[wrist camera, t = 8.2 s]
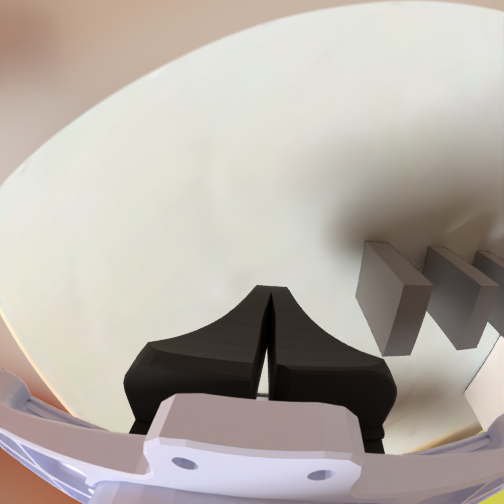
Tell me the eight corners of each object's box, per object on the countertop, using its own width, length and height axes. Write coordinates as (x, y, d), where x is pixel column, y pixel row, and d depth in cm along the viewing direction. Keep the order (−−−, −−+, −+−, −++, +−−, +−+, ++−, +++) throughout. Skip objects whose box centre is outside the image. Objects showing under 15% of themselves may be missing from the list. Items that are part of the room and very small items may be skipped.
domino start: (377, 297, 17) (410, 355, 11) (355, 296, 17) (382, 356, 11) (387, 242, 16) (433, 285, 10) (365, 240, 16) (404, 284, 10)
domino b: (433, 297, 16) (476, 347, 11) (416, 297, 17) (457, 350, 11) (446, 247, 15) (499, 286, 10) (428, 245, 15) (481, 285, 10)
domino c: (477, 297, 16) (520, 340, 10) (463, 297, 16) (507, 342, 11) (489, 252, 15) (541, 286, 9) (476, 250, 15) (529, 286, 9)
